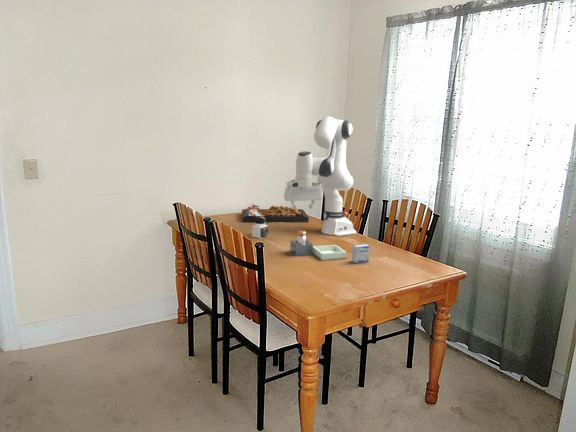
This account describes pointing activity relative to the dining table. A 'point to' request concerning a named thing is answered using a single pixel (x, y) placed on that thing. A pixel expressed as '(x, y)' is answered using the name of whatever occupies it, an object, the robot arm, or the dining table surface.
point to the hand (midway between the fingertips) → (302, 208)
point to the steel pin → (301, 237)
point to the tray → (329, 252)
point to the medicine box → (360, 253)
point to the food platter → (274, 214)
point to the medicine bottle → (260, 228)
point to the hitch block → (301, 248)
